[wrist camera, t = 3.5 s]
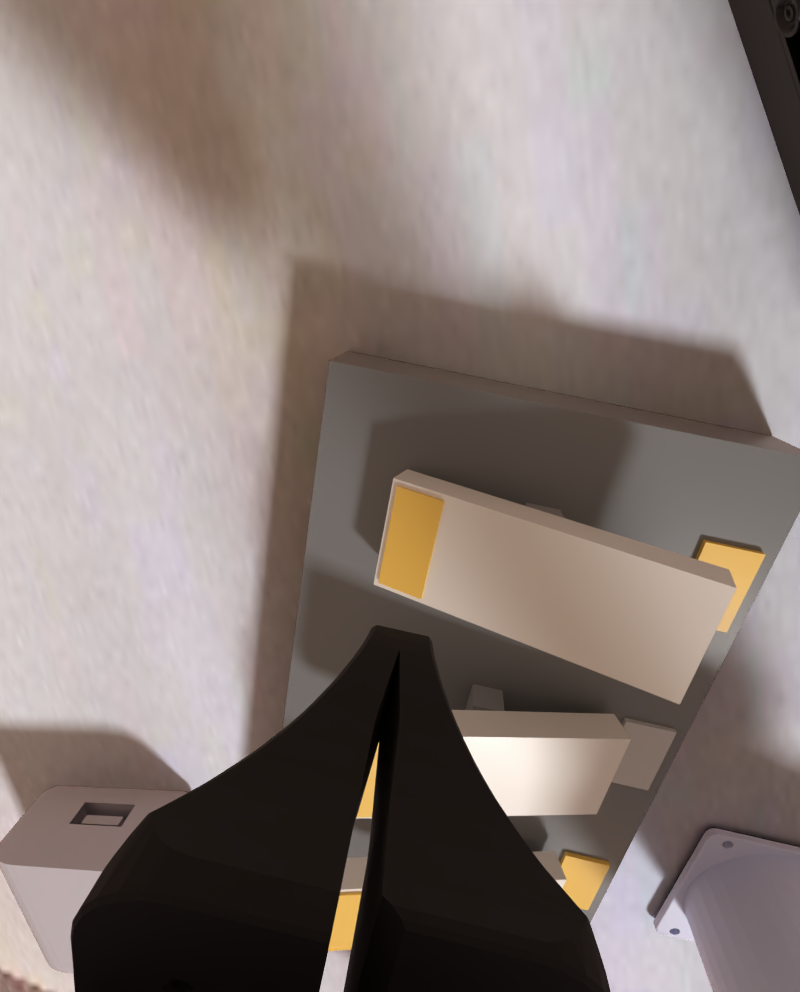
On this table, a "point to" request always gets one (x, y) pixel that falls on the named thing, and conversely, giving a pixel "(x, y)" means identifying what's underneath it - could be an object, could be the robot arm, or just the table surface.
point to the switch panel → (552, 489)
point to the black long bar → (776, 71)
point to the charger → (68, 855)
